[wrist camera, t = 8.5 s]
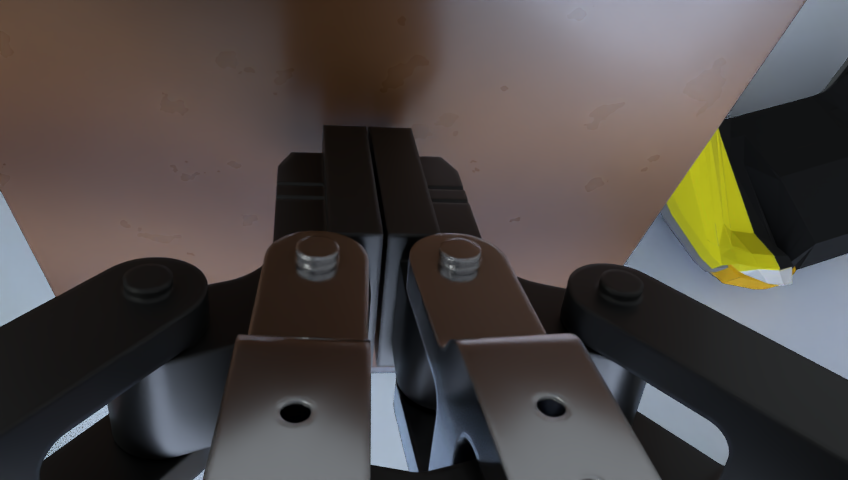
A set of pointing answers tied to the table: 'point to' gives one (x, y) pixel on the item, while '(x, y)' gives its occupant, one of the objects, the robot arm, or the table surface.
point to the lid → (359, 116)
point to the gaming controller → (769, 191)
